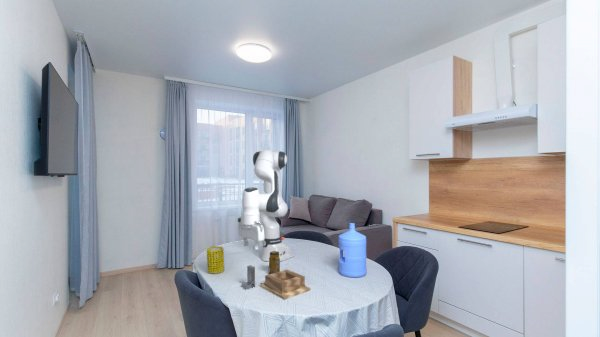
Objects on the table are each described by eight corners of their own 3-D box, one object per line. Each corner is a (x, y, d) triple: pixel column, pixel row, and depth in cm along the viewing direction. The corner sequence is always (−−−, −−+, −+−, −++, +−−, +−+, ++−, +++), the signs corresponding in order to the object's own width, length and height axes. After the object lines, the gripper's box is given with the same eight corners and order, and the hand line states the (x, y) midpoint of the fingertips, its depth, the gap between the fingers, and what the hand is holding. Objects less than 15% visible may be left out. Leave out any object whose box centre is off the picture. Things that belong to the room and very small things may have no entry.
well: (285, 278, 156) (285, 267, 156) (310, 290, 141) (310, 277, 141) (260, 286, 146) (260, 274, 146) (284, 299, 131) (284, 286, 131)
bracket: (250, 284, 148) (250, 265, 148) (254, 287, 145) (254, 267, 145) (242, 287, 145) (241, 267, 145) (246, 289, 142) (246, 269, 142)
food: (226, 271, 172) (218, 278, 162) (208, 266, 174) (199, 272, 165) (231, 247, 171) (223, 253, 161) (213, 242, 173) (204, 247, 163)
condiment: (278, 270, 169) (277, 250, 170) (283, 275, 162) (283, 253, 162) (266, 272, 166) (266, 251, 166) (271, 277, 159) (271, 255, 159)
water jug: (369, 270, 168) (368, 222, 169) (363, 279, 154) (362, 227, 155) (343, 267, 175) (342, 220, 175) (335, 275, 161) (334, 224, 161)
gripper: (267, 222, 141) (267, 250, 140) (246, 217, 156) (246, 242, 156) (256, 223, 136) (256, 253, 136) (235, 218, 152) (235, 244, 152)
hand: (250, 247), depth 146 cm, fingers open, 8 cm apart
